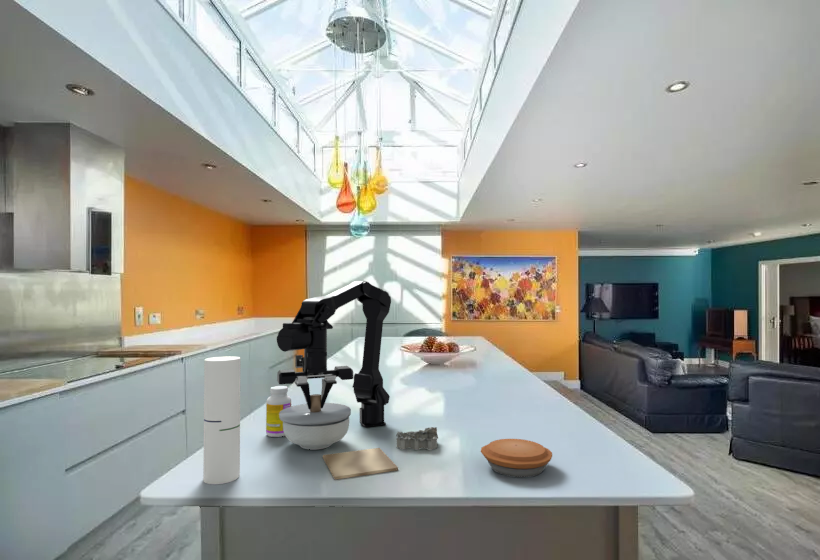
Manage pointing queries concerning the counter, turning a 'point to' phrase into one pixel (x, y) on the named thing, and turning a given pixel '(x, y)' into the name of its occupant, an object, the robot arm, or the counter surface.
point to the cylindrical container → (221, 419)
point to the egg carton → (418, 439)
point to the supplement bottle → (276, 410)
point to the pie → (516, 457)
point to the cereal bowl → (316, 434)
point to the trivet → (358, 463)
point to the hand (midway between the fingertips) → (315, 408)
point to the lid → (314, 412)
